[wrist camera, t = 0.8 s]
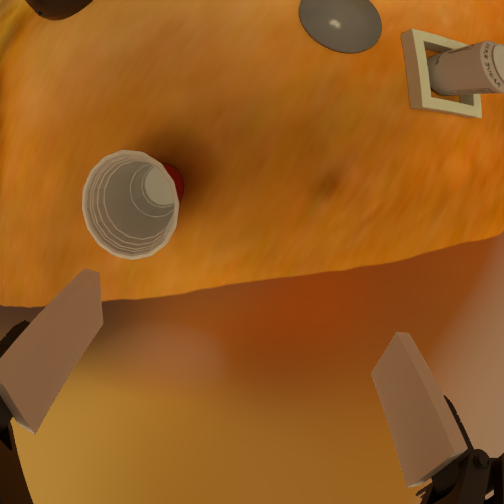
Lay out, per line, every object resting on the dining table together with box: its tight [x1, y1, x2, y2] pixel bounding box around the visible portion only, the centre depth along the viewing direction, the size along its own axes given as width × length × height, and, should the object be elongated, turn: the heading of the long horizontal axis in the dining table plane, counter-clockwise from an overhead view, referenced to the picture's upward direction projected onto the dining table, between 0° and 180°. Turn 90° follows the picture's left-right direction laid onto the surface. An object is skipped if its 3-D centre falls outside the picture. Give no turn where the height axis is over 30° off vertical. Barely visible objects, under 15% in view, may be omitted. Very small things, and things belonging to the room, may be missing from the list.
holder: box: [401, 29, 482, 118], centre depth 26 cm, size 11×11×4 cm
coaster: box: [299, 0, 382, 53], centre depth 26 cm, size 11×11×1 cm
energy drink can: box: [427, 41, 504, 96], centre depth 21 cm, size 6×6×15 cm
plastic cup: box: [82, 150, 184, 260], centre depth 31 cm, size 11×11×12 cm
